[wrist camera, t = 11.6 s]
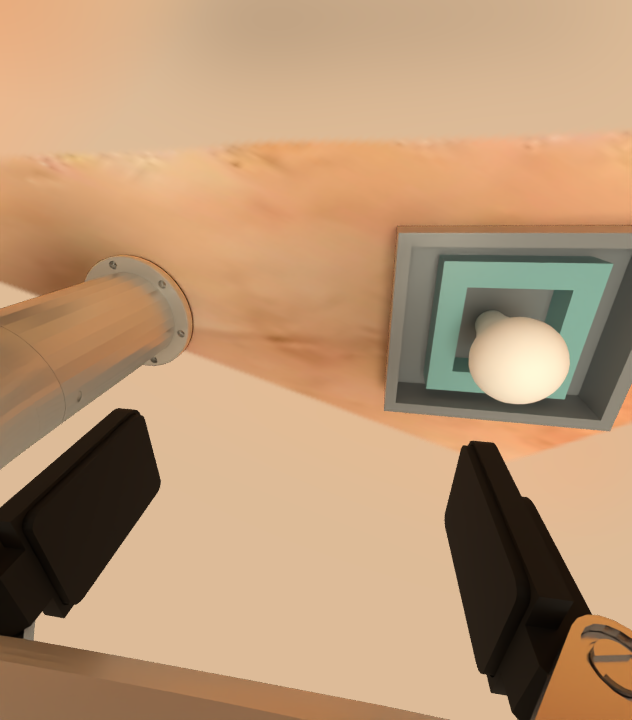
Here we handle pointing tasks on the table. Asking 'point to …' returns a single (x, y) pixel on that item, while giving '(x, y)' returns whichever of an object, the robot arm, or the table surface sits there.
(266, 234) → the table surface
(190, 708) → the robot arm
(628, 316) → the open box
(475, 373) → the lightbulb
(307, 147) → the table surface
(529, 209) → the table surface
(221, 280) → the table surface
